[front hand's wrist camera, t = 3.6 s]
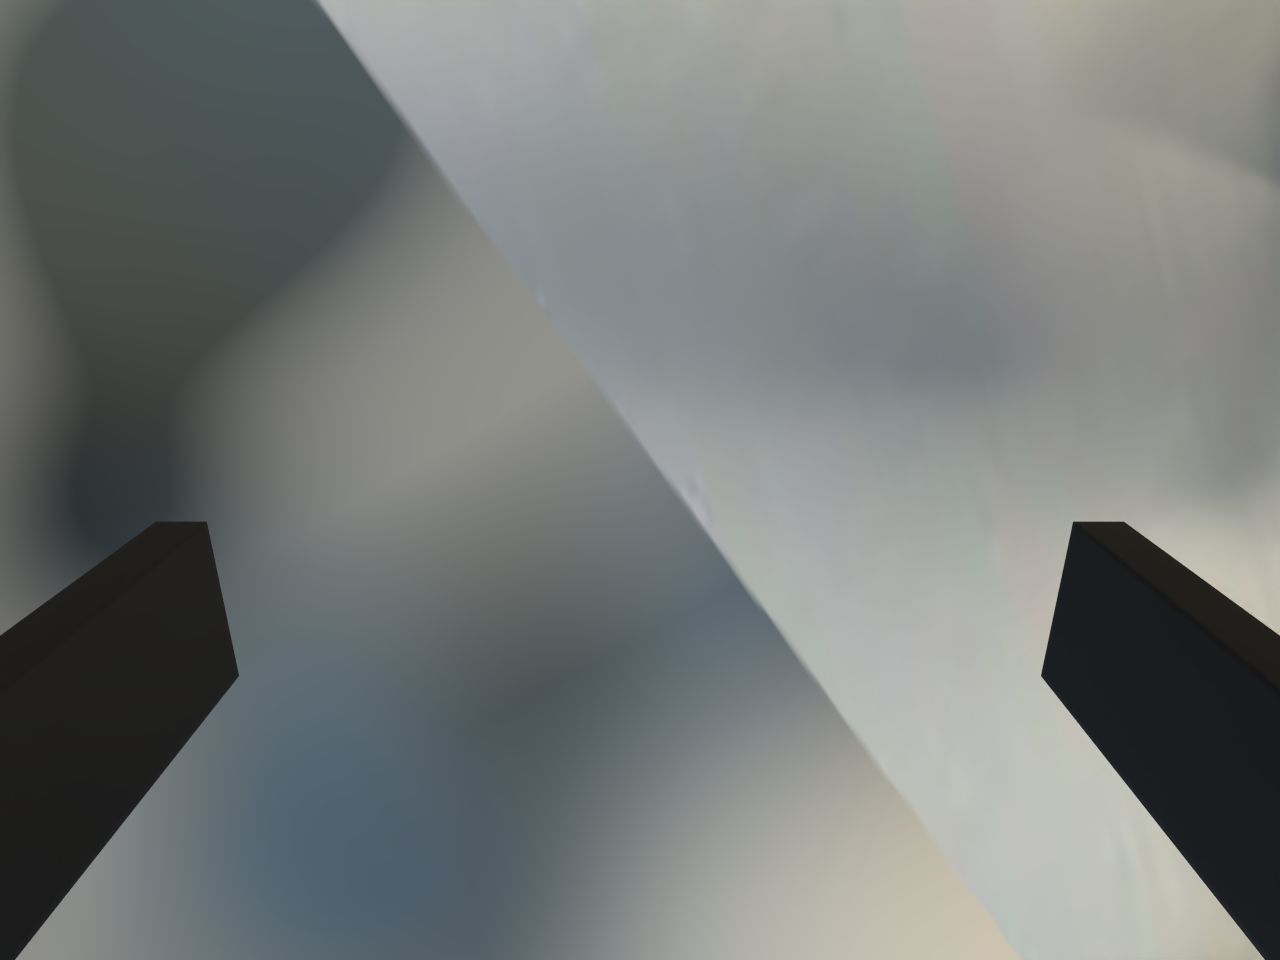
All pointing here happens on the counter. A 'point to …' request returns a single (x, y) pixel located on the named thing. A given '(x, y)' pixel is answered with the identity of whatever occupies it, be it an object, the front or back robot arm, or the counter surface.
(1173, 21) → the counter surface
